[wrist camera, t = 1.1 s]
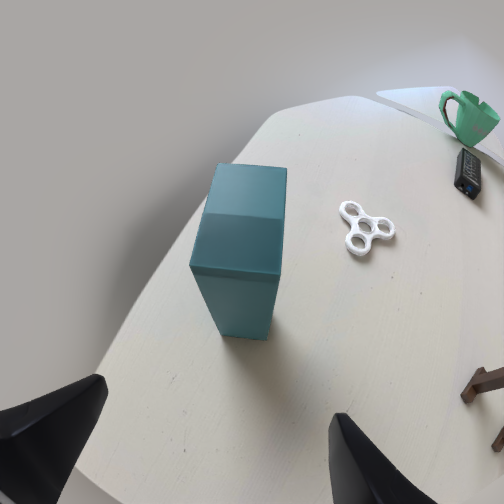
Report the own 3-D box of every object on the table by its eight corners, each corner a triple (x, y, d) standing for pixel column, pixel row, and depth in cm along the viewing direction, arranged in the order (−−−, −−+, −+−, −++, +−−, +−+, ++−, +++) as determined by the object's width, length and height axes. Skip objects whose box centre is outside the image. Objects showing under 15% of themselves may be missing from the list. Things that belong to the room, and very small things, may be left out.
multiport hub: (475, 168, 36) (480, 159, 34) (474, 200, 32) (481, 191, 30) (457, 155, 38) (462, 146, 36) (453, 185, 33) (460, 175, 31)
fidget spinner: (395, 227, 29) (398, 223, 28) (381, 270, 26) (384, 266, 25) (343, 200, 31) (345, 195, 30) (322, 239, 28) (324, 235, 27)
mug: (470, 133, 43) (486, 101, 35) (487, 160, 38) (507, 126, 30) (422, 114, 44) (436, 77, 36) (437, 141, 39) (456, 99, 31)
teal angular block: (266, 340, 23) (280, 275, 12) (220, 335, 23) (188, 265, 12) (273, 271, 26) (287, 167, 15) (231, 267, 26) (217, 162, 15)
